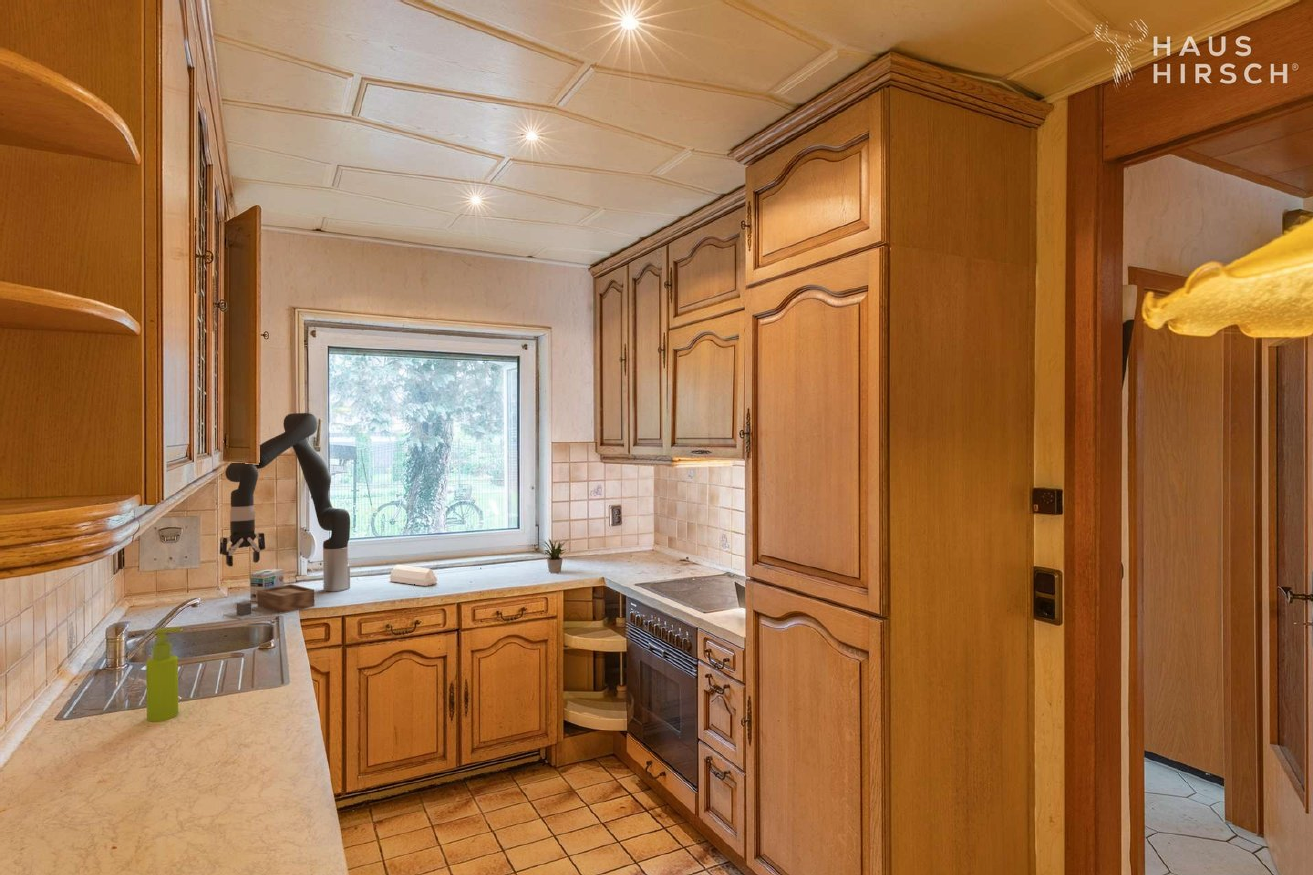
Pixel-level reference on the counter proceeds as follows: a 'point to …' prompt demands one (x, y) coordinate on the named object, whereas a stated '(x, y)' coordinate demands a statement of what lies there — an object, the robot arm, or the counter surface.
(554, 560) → the house plant
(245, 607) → the cover plate
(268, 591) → the walnut box
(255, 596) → the light bulb box
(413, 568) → the pale wooden prism
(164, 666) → the soap dispenser
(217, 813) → the counter surface
